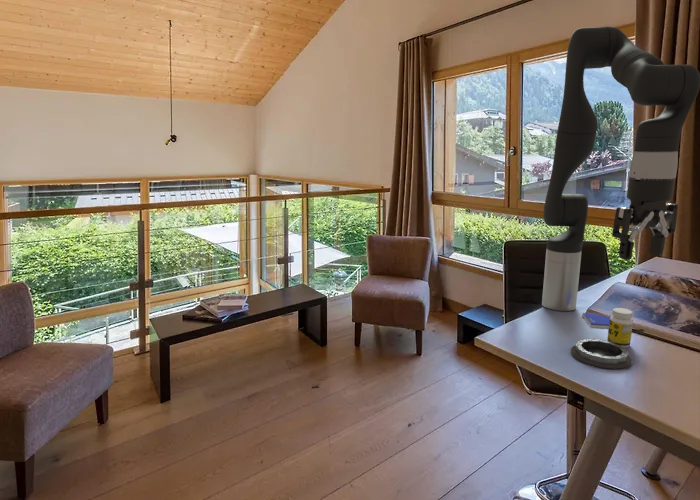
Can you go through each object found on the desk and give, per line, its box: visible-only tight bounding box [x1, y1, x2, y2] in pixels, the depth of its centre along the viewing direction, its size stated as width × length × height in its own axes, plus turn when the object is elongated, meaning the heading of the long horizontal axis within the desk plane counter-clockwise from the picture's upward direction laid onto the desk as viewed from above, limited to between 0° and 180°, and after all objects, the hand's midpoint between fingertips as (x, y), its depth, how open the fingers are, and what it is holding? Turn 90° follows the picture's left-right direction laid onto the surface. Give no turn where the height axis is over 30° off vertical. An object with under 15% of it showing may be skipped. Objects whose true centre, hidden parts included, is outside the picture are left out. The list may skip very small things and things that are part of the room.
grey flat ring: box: [570, 338, 633, 371], centre depth 101 cm, size 12×12×2 cm
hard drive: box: [582, 312, 610, 329], centre depth 120 cm, size 2×8×12 cm
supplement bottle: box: [606, 307, 633, 348], centre depth 107 cm, size 5×5×8 cm
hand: (640, 256), depth 90 cm, fingers open, 8 cm apart
